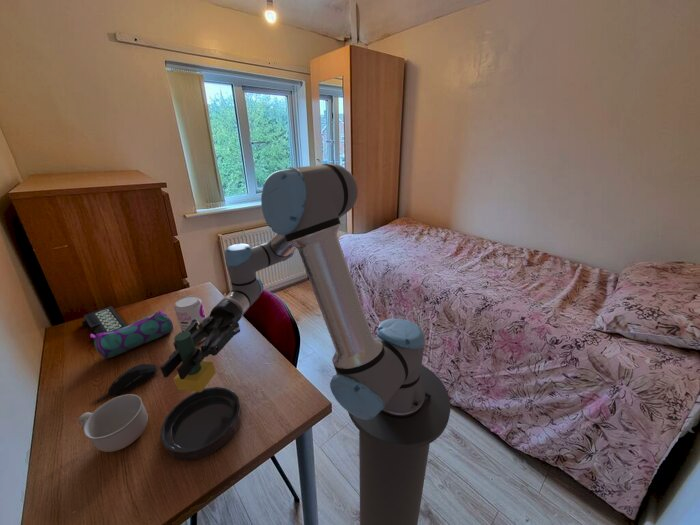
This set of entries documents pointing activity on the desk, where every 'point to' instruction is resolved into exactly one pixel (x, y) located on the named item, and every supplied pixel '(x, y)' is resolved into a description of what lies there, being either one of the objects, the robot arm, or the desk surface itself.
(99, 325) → the digital display
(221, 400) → the bowl
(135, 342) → the pencil case
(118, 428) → the teacup
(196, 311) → the supplement can
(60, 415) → the desk surface
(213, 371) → the green peg on stand
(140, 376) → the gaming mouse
